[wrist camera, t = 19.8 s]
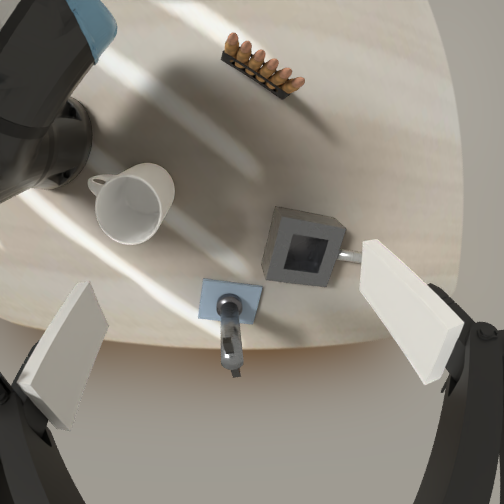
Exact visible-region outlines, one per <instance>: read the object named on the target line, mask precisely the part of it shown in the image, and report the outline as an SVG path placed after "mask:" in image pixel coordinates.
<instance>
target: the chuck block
mask: <svg viewBox="0 0 504 504" xmlns="http://www.w3.org/2000/svg"><path fill="white" fill-rule="evenodd" d="M345 231H346V228H345V227H344V226H343V225H342V224H340V223H339V222H338V221H337V220H336V219H335V218H332V217H328V216H323V215H318V214H313V213H308V212H303V211H297V210H292V209H287V208H281V207H276V206H275V210H274V214H273V218H272V223H271V227H270V231H269V235H268V239H267V243H266V248H265V252H264V256H263V260H262V264H261V265H262V269H263V272H264V276H265V279H266V280H270V281H278V282H286V283H295V284H303V285H312V286H321V287H327V284H328V281H329V278H330V276H331V273H332V270H333V267H334V264H335V261H336V260H343V261H349V262H356V263H362V252H356V251H350V250H345V249H340V246H341V243H342V240H343V237H344V234H345Z"/></svg>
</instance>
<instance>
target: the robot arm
mask: <svg viewBox="0 0 504 504" xmlns="http://www.w3.org/2000/svg"><path fill="white" fill-rule="evenodd" d="M116 34H117V24H116V21H115V19H114V17H113V15H112V14H111V13H110V11H109V10H108V9H107V8H106V6H105V5H104V4H103V3H102V2H101V1H100V0H0V204H1V203H2V202H4V201H6V200H8V199H10V198H12V197H14V196H16V195H18V194H20V193H22V192H24V191H26V190H28V189H30V188H36V189H46V190H48V189H54V188H58V187H60V186H62V185H64V184H66V183H68V182H70V181H71V180H73V179H74V178H75V177H76V176H77V175H78V174H79V173H80V171H81V170H82V169H83V167H84V165H85V163H86V161H87V159H88V156H89V153H90V150H91V144H92V128H91V123H90V119H89V116H88V114H87V112H86V110H85V109H84V107H83V106H82V105H81V104H80V103H79V102H78V101H77V100H75V99H74V98H72V97H70V96H71V94H72V93H73V91H74V90H75V89H76V87H77V86H78V84H79V83H80V82H81V80H82V79H83V78H84V76H85V75H86V74H87V72H88V71H89V70H90V69H91V67H92V66H93V65H96V64H97V62H98V60H99V57H100V56H101V54H102V53H103V52H104V51H105V49H106V48H107V47H108V46H109V45H110V43H111V42H112V41H113V40H114V38H115V36H116ZM359 290H360V292H361V293H362V295H363V296H364V297H365V299H366V300H367V301H368V303H369V304H370V306H371V307H372V308H373V310H374V311H375V312H376V314H377V315H378V317H379V318H380V320H381V321H382V322H383V324H384V325H385V327H386V328H387V329H388V331H389V332H390V334H391V335H392V337H393V338H394V340H395V341H396V342H397V344H398V345H399V347H400V348H401V350H402V351H403V353H404V354H405V356H406V357H407V359H408V360H409V362H410V363H411V365H412V366H413V368H414V369H415V371H416V373H417V374H418V376H419V377H420V379H421V380H422V382H423V383H424V385H426V384H429V383H431V382H433V381H436V380H438V379H440V378H441V376H442V373H443V372H444V370H445V368H446V369H447V370H448V372H449V373H450V374H449V376H448V378H447V380H446V382H445V384H444V386H443V388H442V390H441V393H443V392H444V390H445V388H446V390H445V396H444V401H443V406H442V411H441V416H440V421H439V425H438V429H437V433H436V437H435V441H434V445H433V448H432V452H431V455H430V458H429V462H428V465H427V468H426V471H425V474H424V477H423V480H422V483H421V485H420V488H419V491H418V493H417V496H416V499H415V501H414V503H413V504H489V502H490V498H491V493H492V489H493V485H494V480H495V475H496V470H497V464H498V457H500V504H504V330H499V331H498V330H497V329H496V328H495V327H494V326H492V325H491V324H489V323H486V322H477V323H475V322H474V321H473V320H472V319H471V318H470V317H469V316H468V315H467V313H466V312H465V311H464V310H463V309H461V307H460V306H459V305H457V303H455V302H454V301H453V300H452V299H451V298H450V297H449V296H448V295H447V294H446V293H445V292H444V291H443V290H442V289H441V288H439V287H437V286H435V285H433V284H431V283H430V284H426V283H425V282H424V281H423V280H422V279H420V278H419V277H418V276H417V275H416V274H415V273H414V272H413V271H412V270H411V269H410V268H409V267H408V266H407V265H405V264H404V263H403V262H402V261H401V260H400V259H399V258H398V257H397V256H396V255H394V254H393V253H392V252H391V251H390V250H389V249H388V248H387V247H385V246H384V245H383V244H382V243H381V242H380V241H379V240H377V239H374V240H367V241H363V250H362V264H361V276H360V287H359ZM108 327H109V325H108V323H107V321H106V318H105V316H104V314H103V312H102V309H101V307H100V305H99V303H98V300H97V298H96V295H95V293H94V291H93V288H92V286H91V283H90V281H87V282H80V283H77V284H76V286H75V287H74V288H73V290H72V291H71V293H70V294H69V296H68V297H67V299H66V300H65V302H64V303H63V305H62V306H61V308H60V309H59V311H58V312H57V314H56V315H55V317H54V318H53V320H52V321H51V323H50V325H49V326H48V328H47V329H46V331H45V333H44V334H43V336H42V338H41V339H40V340H39V341H38V342H37V343H36V344H35V345H34V346H33V347H32V349H31V350H30V352H29V354H28V357H26V359H25V361H24V364H22V366H21V368H20V370H19V372H18V373H17V375H16V377H15V379H14V381H13V383H12V385H11V386H10V384H9V383H8V382H7V380H6V379H5V378H4V376H3V375H2V374H1V372H0V504H85V502H84V500H83V498H82V497H81V495H80V493H79V491H78V489H77V488H76V486H75V484H74V482H73V480H72V479H71V476H70V474H69V472H68V470H67V468H66V466H65V464H64V462H63V459H62V457H61V455H60V453H59V450H58V448H57V446H56V443H55V441H54V438H53V436H52V433H51V431H50V430H49V428H48V427H47V423H48V420H49V421H50V422H51V423H52V424H53V425H54V427H55V428H56V429H61V430H67V431H71V429H72V426H73V422H74V419H75V416H76V413H77V410H78V407H79V404H80V401H81V398H82V395H83V392H84V389H85V386H86V383H87V380H88V378H89V375H90V372H91V369H92V367H93V364H94V361H95V359H96V356H97V353H98V351H99V349H100V346H101V344H102V341H103V339H104V336H105V334H106V332H107V329H108Z"/></svg>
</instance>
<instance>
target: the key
mask: <svg viewBox="0 0 504 504" xmlns="http://www.w3.org/2000/svg"><path fill="white" fill-rule="evenodd" d="M216 310H217V313H218V315H219V316H220V317H221V364H222V366H223V367H224V368H226V369H229V370H231V372H232V376H233V377H240V376H241V374H240V367H241V366H242V365H243V354H242V342H241V332H240V321H239V315H240V314H241V313H242V301H241V299H240V298H239V297H238V296H237V295H235V294H231V293H227V294H223V295H222V296H220V297H219V298H218V300H217V303H216Z"/></svg>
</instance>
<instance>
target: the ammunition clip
mask: <svg viewBox="0 0 504 504" xmlns="http://www.w3.org/2000/svg"><path fill="white" fill-rule="evenodd" d="M251 48H252V45H251V43H250V41H245V42H244V43H243V44H242V45H241V47H239V42H238V36H237V34H236V33H231V34H230V35H229V36H228V39H227V41H226V43H225V52H224V51H223V53H222V57H221V60H222V61H224V62H226V63H227V64H229V65H231V66H232V67H234V68H236V69H237V70H239V71H240V72H242V73H244V74H245V75H247V76H248V77H250V78H251V79H253V80H254V81H256V82H257V83H259V84H260V85H262V86H263V87H265V88H266V89H268V90H269V91H271V92H272V93H274V94H275V95H276V96H278V97H279V98H281V99H284V98H286V97H287V96H289V95H290V93H292V92H294V91H297V90H298V89H299V88H300V87H301V86H302V85H303V84H304V83H305V79H304V78H302V77H297V78H294V79H288V78H289V77H290V75H291V74H292V70H291V69H290V68H284V69H282V70H279V71H276V68H277V66H278V64H279V62H278V60H277V59H271V60H269V61H268V62H266V63H265V62H264V58H265V51H264V50H258V51H257V52H256V53H255V54H254V55H252V54H251V52H252V51H251ZM250 57H251V58H250ZM249 58H250V60H249ZM262 64H263V66H262ZM261 66H262V67H261ZM260 67H261V68H260ZM274 72H275V74H273V73H274ZM272 74H273V75H272Z"/></svg>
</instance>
